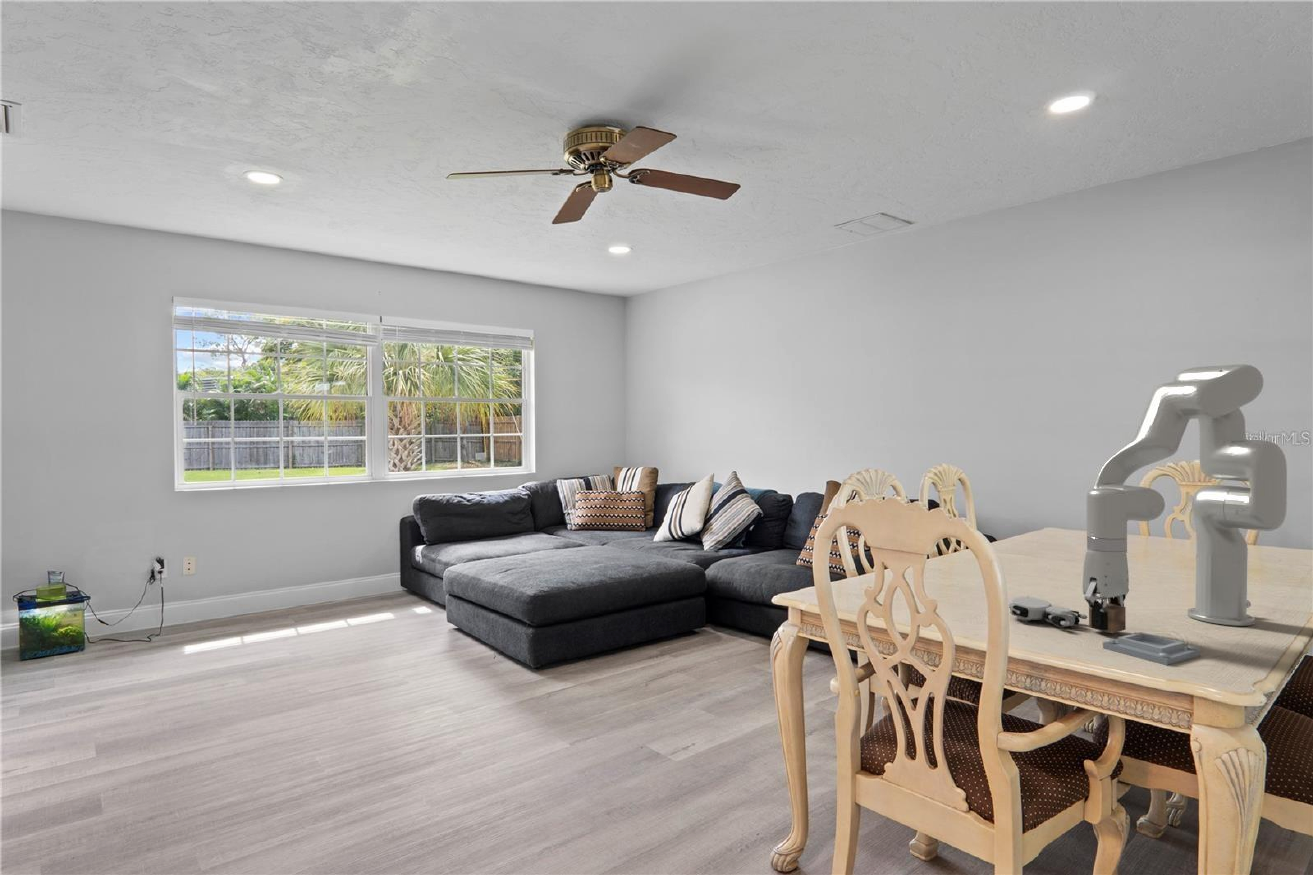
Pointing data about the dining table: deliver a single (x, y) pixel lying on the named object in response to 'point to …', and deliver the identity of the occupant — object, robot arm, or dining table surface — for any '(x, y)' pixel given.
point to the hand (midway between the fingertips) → (1107, 626)
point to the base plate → (1152, 648)
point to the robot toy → (1043, 612)
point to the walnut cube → (1113, 618)
